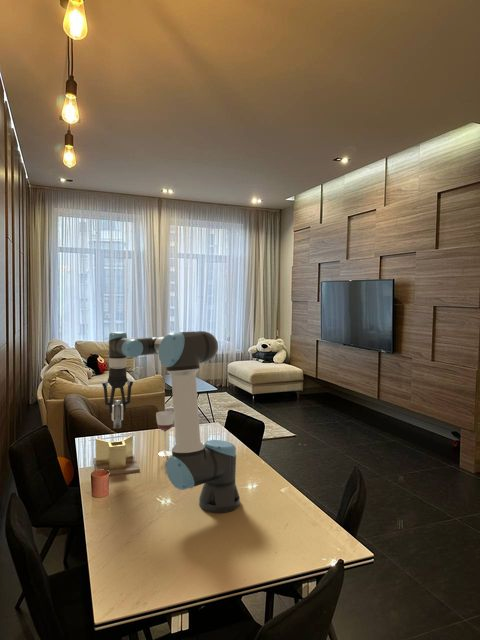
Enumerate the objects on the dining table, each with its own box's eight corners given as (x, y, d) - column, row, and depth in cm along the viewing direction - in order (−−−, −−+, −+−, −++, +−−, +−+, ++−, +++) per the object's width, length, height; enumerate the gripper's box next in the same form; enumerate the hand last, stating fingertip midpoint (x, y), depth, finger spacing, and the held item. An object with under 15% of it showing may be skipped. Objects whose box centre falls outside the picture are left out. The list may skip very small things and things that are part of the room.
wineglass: (172, 456, 212) (172, 415, 211) (154, 456, 212) (154, 415, 211) (175, 451, 220) (175, 411, 219) (157, 450, 220) (157, 410, 219)
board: (139, 471, 194) (139, 468, 194) (96, 477, 187) (96, 474, 187) (132, 455, 213) (133, 453, 213) (93, 460, 206) (93, 458, 206)
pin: (119, 428, 194) (119, 401, 194) (112, 428, 195) (112, 401, 194) (122, 426, 198) (122, 400, 197) (115, 426, 198) (115, 399, 197)
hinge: (136, 466, 197) (136, 443, 197) (97, 470, 191) (97, 448, 190) (132, 455, 209) (132, 435, 209) (95, 460, 203) (95, 438, 203)
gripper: (135, 365, 201) (134, 415, 202) (97, 366, 195) (97, 418, 196) (137, 367, 194) (137, 420, 195) (99, 369, 188) (98, 423, 189)
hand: (117, 419), depth 196 cm, fingers closed on pin, 3 cm apart
